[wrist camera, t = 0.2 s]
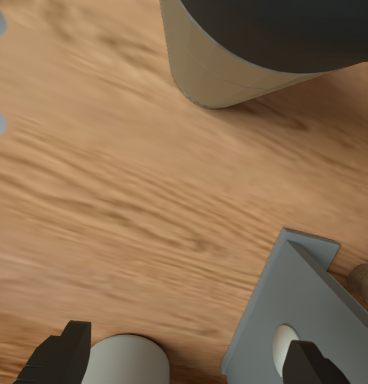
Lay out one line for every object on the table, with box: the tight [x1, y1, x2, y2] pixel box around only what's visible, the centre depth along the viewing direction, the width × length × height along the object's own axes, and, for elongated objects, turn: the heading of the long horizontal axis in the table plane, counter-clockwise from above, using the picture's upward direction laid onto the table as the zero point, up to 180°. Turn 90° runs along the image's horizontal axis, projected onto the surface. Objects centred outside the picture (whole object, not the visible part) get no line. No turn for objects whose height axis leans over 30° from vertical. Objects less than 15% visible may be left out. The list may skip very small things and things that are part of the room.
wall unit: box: [220, 227, 368, 384], centre depth 23 cm, size 24×7×16 cm, turn 164°
